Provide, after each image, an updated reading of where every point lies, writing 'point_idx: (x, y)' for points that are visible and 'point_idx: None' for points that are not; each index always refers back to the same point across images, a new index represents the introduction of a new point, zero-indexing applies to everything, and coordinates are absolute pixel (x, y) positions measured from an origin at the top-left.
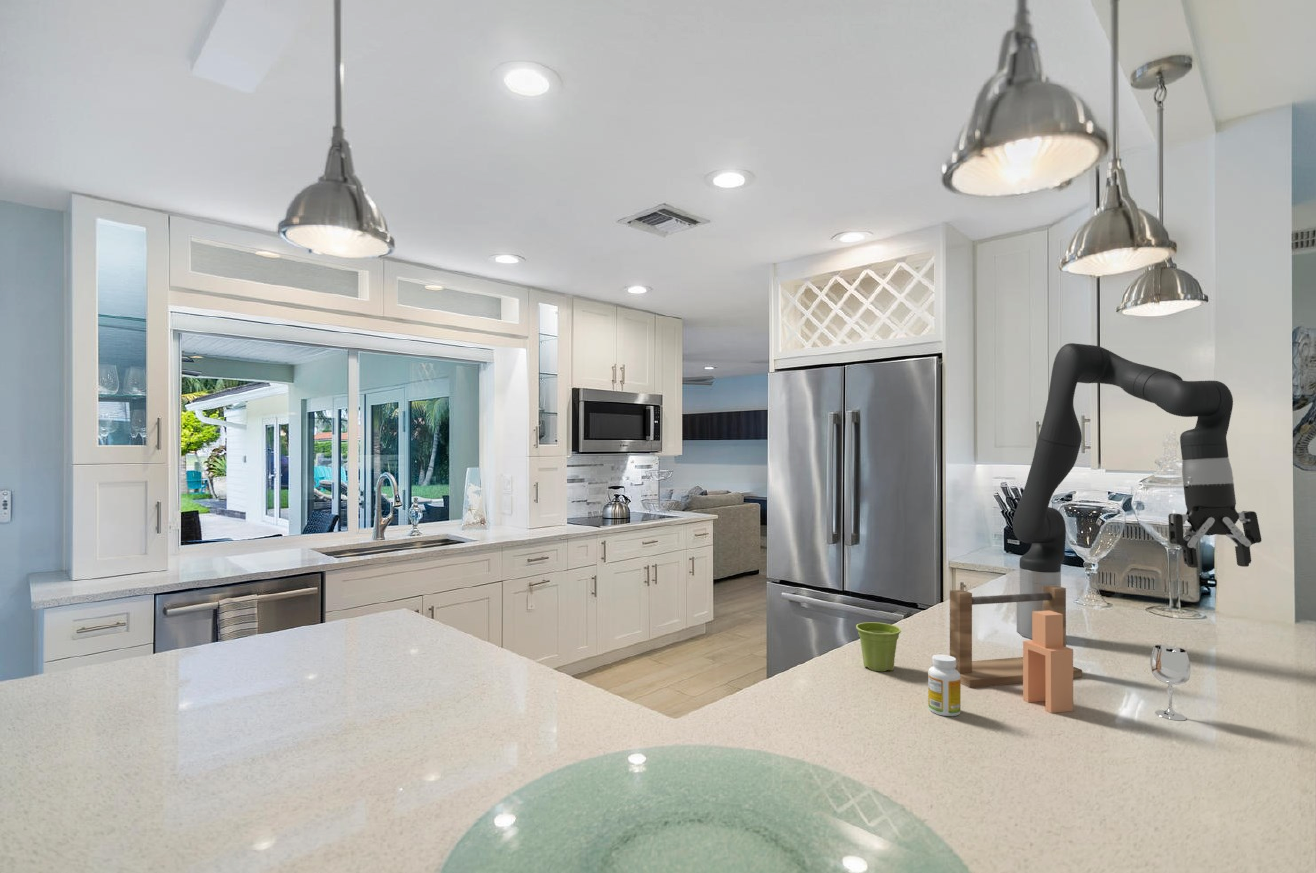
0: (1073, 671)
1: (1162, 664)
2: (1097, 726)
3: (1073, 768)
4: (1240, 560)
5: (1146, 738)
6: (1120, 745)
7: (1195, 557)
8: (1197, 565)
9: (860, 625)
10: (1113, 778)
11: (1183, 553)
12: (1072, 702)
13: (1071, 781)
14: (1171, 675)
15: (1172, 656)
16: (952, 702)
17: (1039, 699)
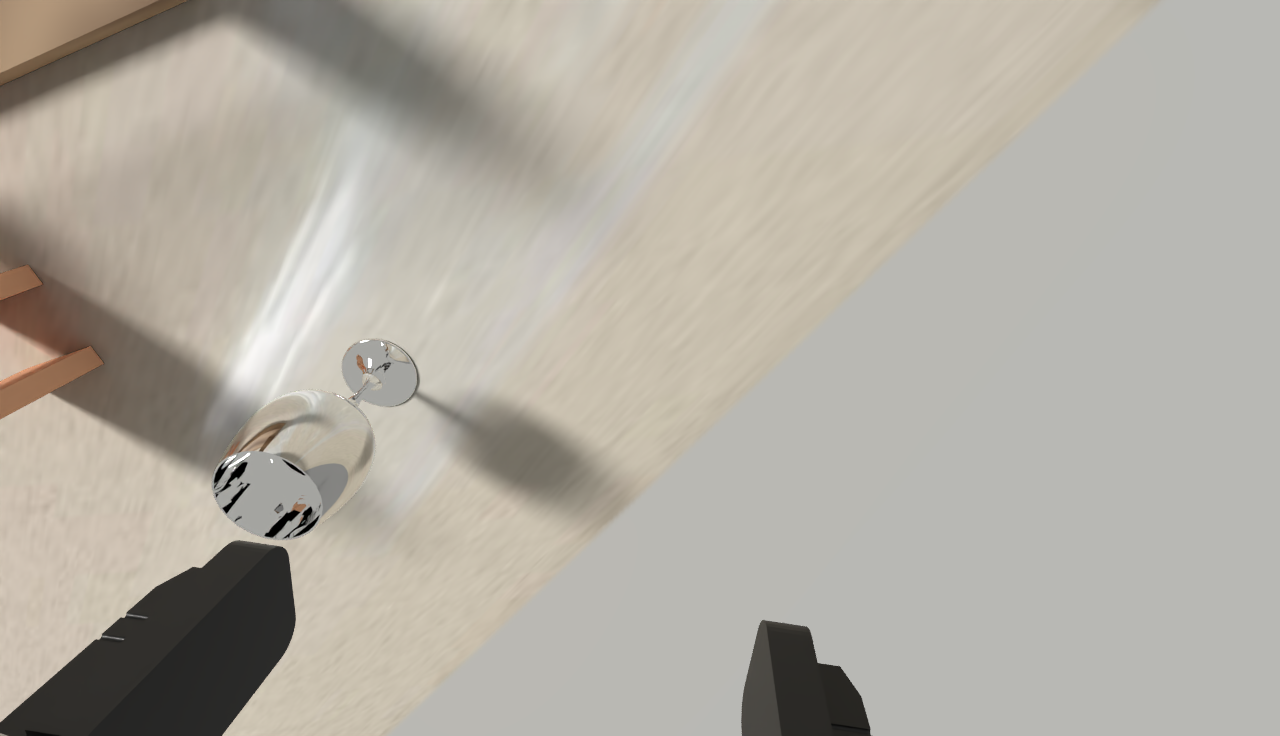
0: (146, 8)
1: (255, 491)
2: (149, 459)
3: (57, 636)
4: (759, 713)
5: None
6: (175, 548)
7: (204, 732)
8: (278, 655)
9: None
10: None
11: (66, 678)
12: (81, 375)
13: (47, 673)
14: (297, 487)
15: (266, 526)
16: None
17: (5, 298)
